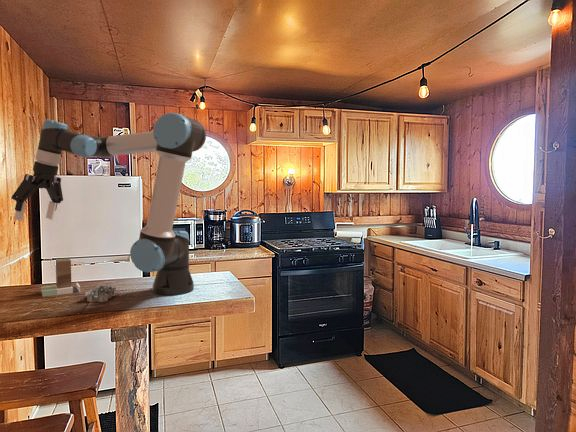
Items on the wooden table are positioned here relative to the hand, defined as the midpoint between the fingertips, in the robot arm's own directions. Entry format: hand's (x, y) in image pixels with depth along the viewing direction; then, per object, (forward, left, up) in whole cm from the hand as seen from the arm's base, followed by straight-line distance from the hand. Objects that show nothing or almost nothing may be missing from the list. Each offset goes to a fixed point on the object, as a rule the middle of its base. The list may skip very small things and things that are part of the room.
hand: (34, 219), depth 145 cm
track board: (-6, -7, -27) cm, 28 cm away
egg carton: (-21, -18, -27) cm, 39 cm away
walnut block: (-6, -8, -25) cm, 27 cm away
